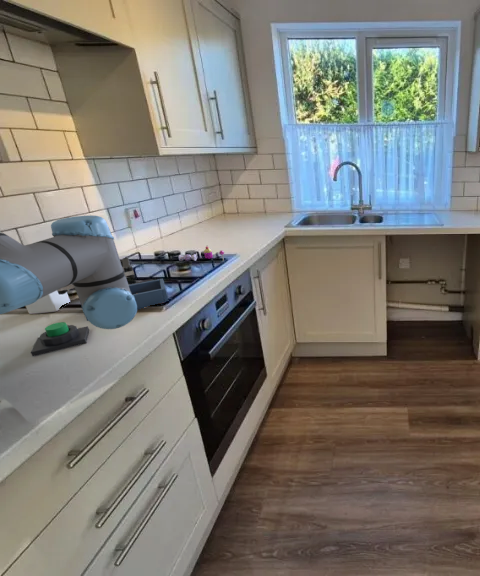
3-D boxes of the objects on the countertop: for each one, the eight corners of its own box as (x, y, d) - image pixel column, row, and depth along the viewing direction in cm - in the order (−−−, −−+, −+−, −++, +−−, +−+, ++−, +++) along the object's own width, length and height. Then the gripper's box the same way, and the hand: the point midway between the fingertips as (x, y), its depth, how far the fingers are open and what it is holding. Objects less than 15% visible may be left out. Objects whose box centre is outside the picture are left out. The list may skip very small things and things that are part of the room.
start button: (46, 339, 85) (43, 331, 84) (49, 332, 88) (46, 325, 88) (68, 334, 87) (65, 326, 86) (70, 327, 90) (67, 320, 90)
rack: (87, 321, 99) (81, 306, 97) (90, 307, 107) (84, 293, 105) (169, 302, 109) (165, 288, 107) (166, 291, 117) (162, 278, 115)
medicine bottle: (45, 304, 110) (29, 267, 106) (71, 301, 111) (56, 265, 107) (28, 314, 104) (10, 275, 99) (56, 312, 105) (40, 273, 100)
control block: (32, 356, 83) (27, 345, 82) (39, 341, 89) (34, 331, 88) (86, 343, 88) (82, 332, 87) (89, 330, 94) (85, 319, 93)
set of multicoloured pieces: (177, 264, 142) (173, 249, 139) (185, 258, 149) (181, 244, 146) (225, 261, 144) (222, 246, 141) (230, 255, 151) (227, 241, 149)
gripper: (42, 321, 68) (39, 288, 84) (162, 290, 81) (140, 266, 97) (26, 284, 65) (26, 257, 81) (152, 258, 78) (132, 239, 94)
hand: (88, 262), depth 89 cm, fingers closed on can, 7 cm apart
